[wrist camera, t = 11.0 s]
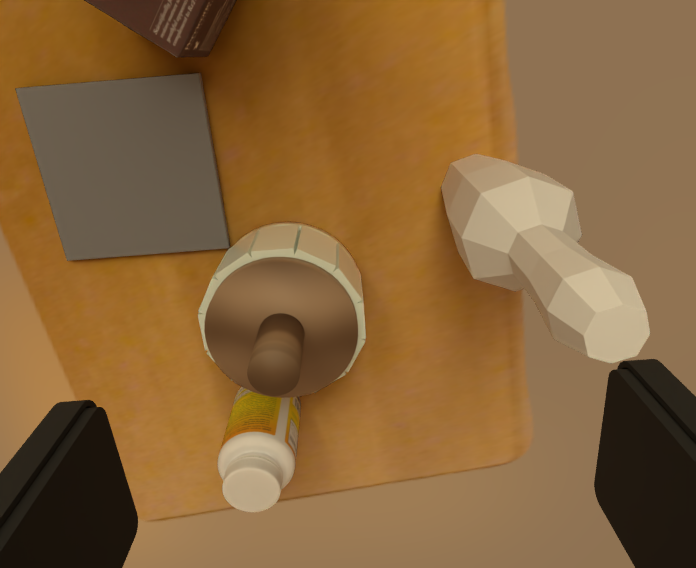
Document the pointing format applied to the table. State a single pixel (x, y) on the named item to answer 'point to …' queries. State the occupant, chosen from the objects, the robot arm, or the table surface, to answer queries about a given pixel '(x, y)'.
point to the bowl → (294, 244)
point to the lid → (281, 327)
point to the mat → (128, 165)
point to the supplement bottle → (258, 449)
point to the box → (172, 22)
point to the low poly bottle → (542, 255)
